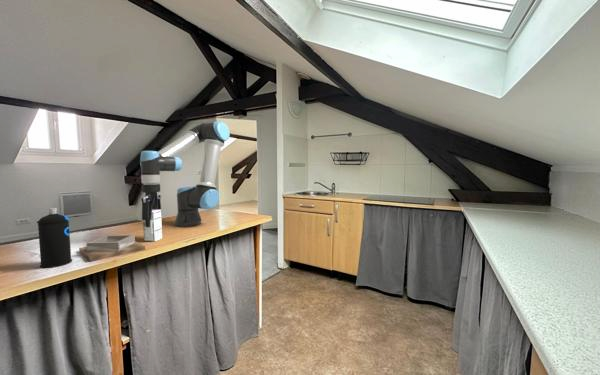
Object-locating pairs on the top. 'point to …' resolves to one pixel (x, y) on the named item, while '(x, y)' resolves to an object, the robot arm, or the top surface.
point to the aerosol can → (54, 240)
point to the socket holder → (110, 247)
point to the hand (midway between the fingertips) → (152, 231)
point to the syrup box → (154, 227)
